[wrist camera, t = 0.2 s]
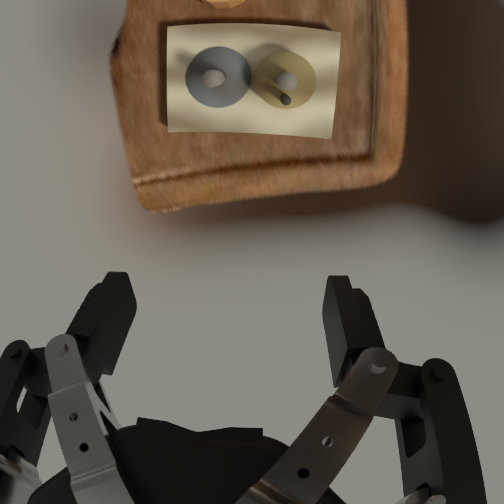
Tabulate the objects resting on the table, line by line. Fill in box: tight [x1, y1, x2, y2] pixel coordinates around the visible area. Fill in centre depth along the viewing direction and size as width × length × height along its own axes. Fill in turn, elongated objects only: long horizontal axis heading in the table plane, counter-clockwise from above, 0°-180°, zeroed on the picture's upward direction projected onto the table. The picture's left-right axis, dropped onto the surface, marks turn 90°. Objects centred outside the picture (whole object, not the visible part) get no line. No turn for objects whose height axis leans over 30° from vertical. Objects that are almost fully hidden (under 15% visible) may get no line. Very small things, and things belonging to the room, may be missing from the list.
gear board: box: [167, 23, 341, 139], centre depth 29 cm, size 13×19×7 cm
